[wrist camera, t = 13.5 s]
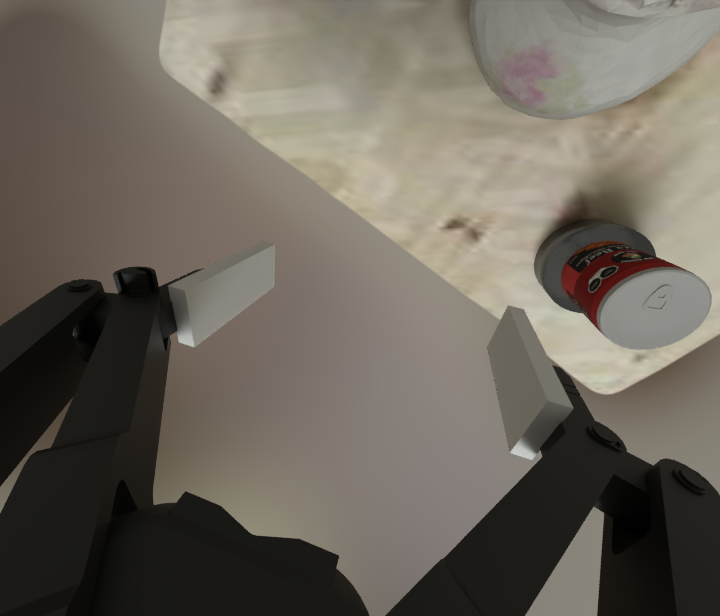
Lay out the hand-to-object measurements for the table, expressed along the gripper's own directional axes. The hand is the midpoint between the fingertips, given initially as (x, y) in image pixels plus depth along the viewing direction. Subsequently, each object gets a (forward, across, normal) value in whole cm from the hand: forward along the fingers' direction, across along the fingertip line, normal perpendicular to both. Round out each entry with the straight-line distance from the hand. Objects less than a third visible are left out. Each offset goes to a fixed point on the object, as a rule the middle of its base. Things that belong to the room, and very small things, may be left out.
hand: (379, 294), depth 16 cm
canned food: (+25, +22, -2) cm, 33 cm away
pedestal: (+29, +23, -2) cm, 37 cm away
